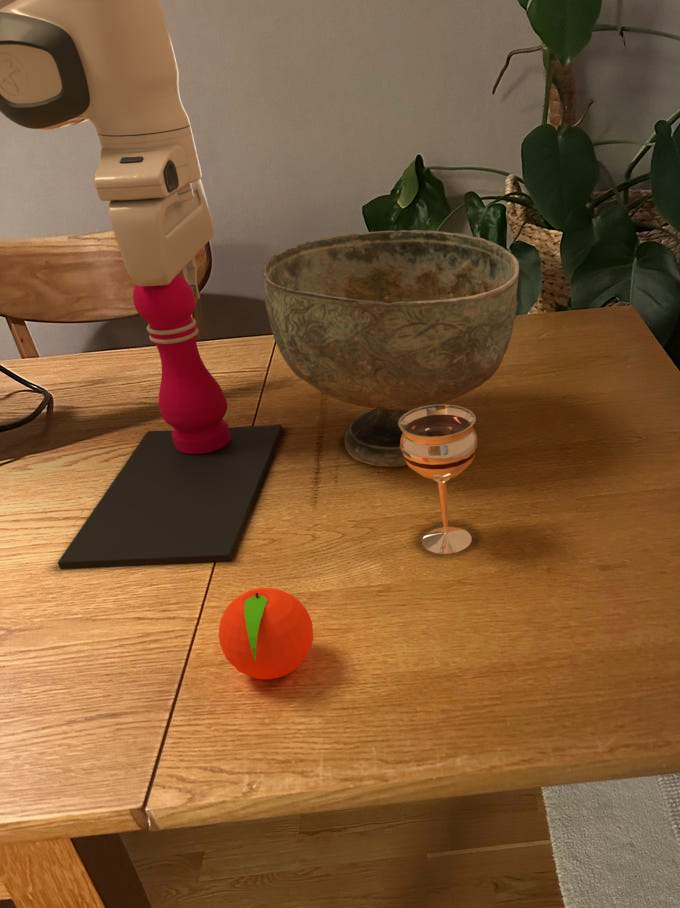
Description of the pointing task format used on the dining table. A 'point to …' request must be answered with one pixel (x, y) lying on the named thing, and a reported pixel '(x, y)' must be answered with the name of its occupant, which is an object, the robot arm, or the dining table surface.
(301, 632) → the clementine
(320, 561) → the dining table surface
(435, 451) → the wineglass
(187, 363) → the pepper mill
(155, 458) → the mat
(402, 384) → the decorative bowl
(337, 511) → the dining table surface
